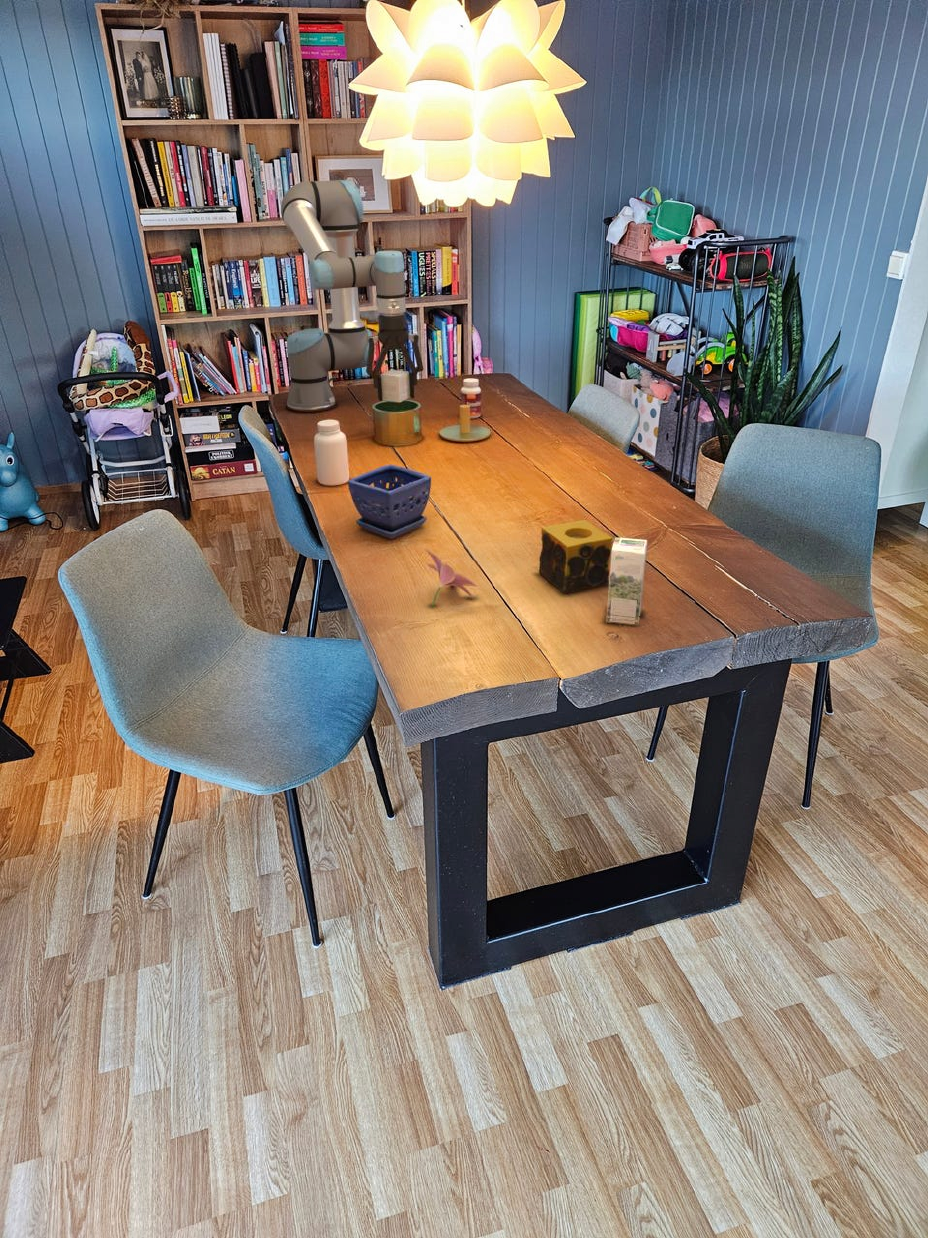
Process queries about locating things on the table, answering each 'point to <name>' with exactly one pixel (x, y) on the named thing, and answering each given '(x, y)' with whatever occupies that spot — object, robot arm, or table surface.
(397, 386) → the skincare box
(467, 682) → the table surface
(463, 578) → the lily
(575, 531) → the candle
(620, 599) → the syrup box
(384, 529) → the flower pot
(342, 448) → the pill bottle
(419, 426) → the tin
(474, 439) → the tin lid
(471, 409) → the pill bottle
